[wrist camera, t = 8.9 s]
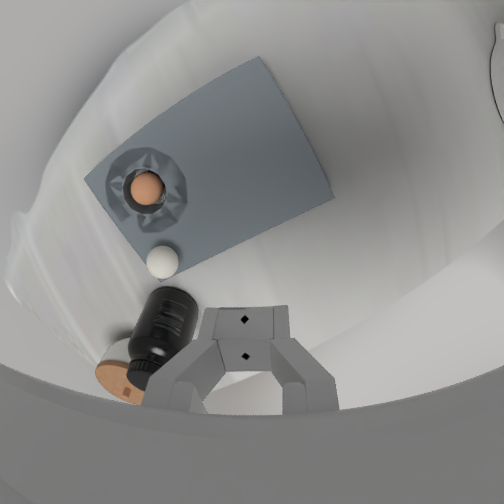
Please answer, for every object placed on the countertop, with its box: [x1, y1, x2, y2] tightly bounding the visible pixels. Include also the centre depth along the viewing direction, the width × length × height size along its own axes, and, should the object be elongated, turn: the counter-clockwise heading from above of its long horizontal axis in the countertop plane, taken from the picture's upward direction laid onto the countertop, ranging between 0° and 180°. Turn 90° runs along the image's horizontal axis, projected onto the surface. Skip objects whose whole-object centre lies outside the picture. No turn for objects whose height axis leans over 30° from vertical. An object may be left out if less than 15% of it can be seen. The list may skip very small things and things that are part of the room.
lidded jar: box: [95, 337, 145, 405], centre depth 36 cm, size 11×11×9 cm
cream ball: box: [146, 246, 179, 279], centre depth 26 cm, size 3×3×3 cm
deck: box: [84, 56, 335, 282], centre depth 25 cm, size 20×14×2 cm
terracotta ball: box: [131, 172, 163, 205], centre depth 25 cm, size 3×3×3 cm
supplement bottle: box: [126, 288, 198, 392], centre depth 29 cm, size 7×7×12 cm
